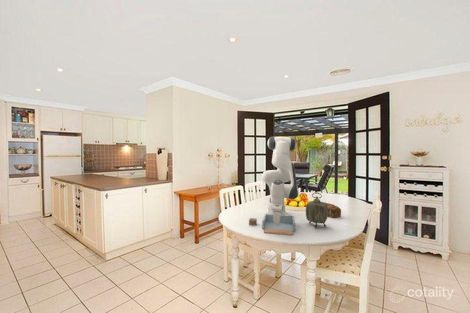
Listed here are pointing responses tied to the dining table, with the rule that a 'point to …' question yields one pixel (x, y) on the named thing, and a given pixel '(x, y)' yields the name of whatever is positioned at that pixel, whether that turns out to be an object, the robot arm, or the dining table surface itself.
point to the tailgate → (278, 231)
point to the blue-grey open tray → (285, 223)
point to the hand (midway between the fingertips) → (277, 225)
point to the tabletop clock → (316, 211)
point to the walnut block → (253, 221)
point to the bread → (333, 210)
